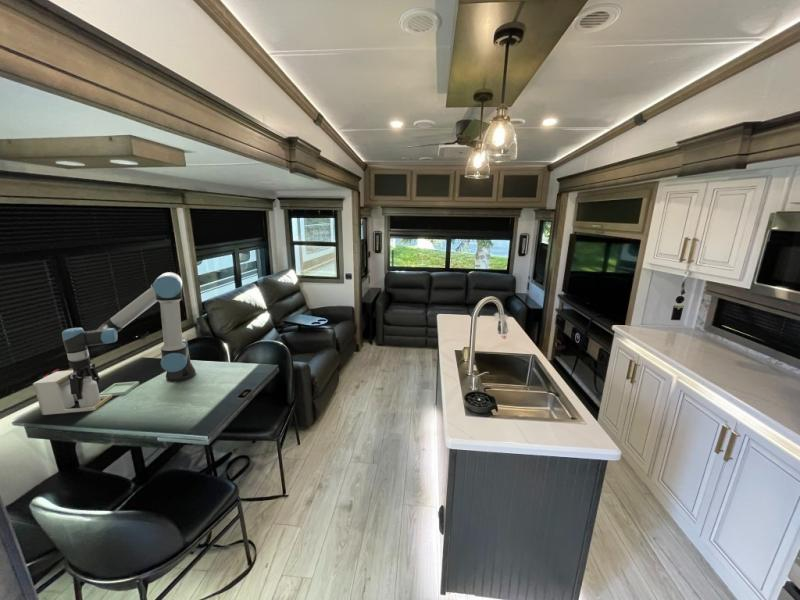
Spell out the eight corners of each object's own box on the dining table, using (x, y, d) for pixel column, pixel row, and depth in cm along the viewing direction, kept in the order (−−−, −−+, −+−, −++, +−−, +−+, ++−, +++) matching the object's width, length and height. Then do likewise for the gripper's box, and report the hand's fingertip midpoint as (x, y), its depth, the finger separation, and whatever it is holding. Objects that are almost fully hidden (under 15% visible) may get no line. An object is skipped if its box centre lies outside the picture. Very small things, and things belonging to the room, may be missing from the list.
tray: (139, 384, 185) (138, 381, 185) (125, 394, 173) (124, 391, 173) (115, 385, 183) (114, 383, 183) (99, 396, 171) (98, 394, 171)
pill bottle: (88, 409, 159) (81, 382, 156) (75, 407, 161) (68, 380, 158) (105, 401, 167) (99, 375, 164) (93, 399, 169) (86, 373, 165)
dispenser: (112, 396, 171) (105, 367, 167) (94, 410, 159) (86, 379, 155) (64, 401, 168) (56, 371, 164) (42, 415, 155) (32, 383, 151)
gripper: (86, 351, 168) (96, 390, 173) (52, 368, 148) (64, 411, 153) (102, 350, 169) (112, 389, 174) (70, 366, 149) (82, 410, 154)
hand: (89, 399), depth 163 cm, fingers closed on pill bottle, 8 cm apart
